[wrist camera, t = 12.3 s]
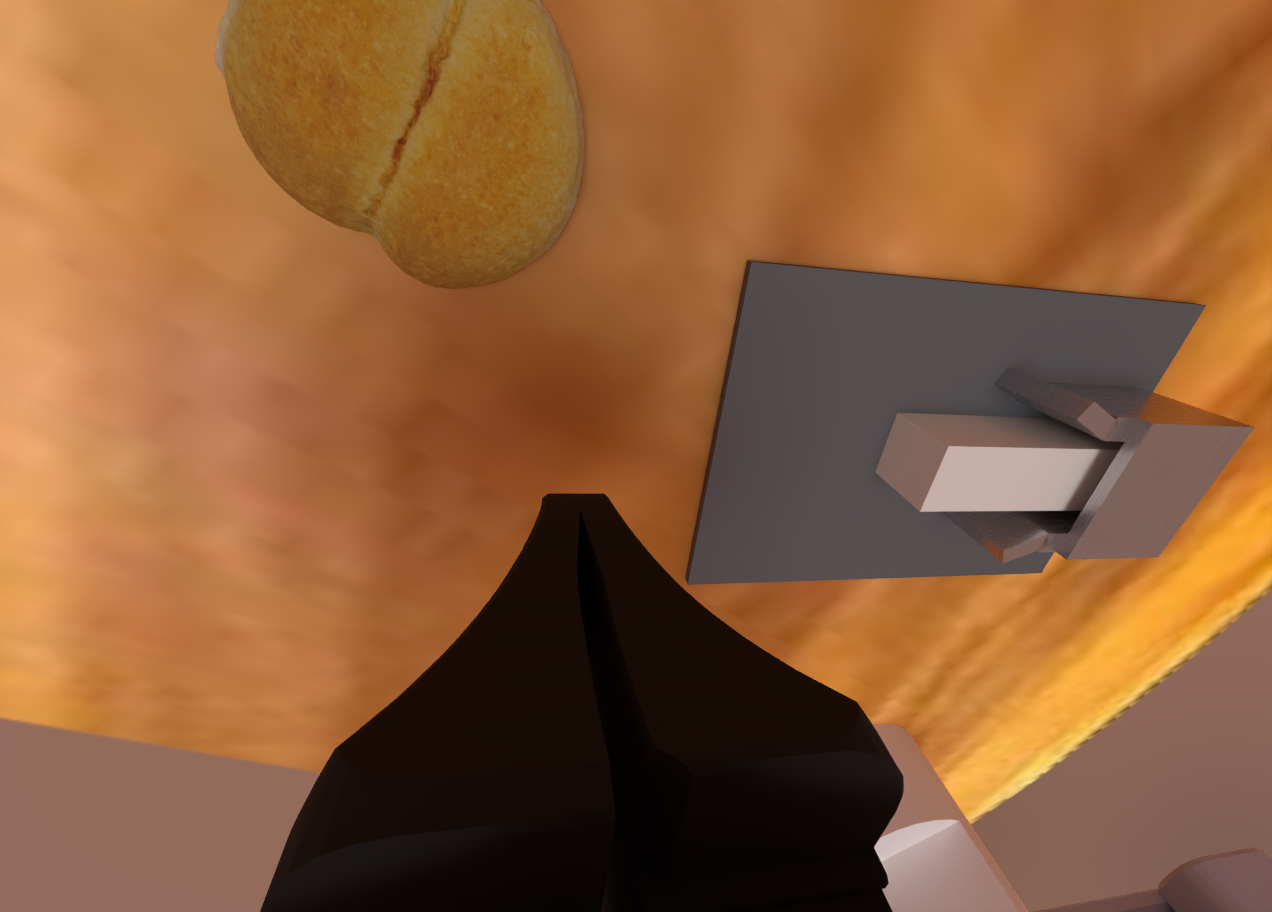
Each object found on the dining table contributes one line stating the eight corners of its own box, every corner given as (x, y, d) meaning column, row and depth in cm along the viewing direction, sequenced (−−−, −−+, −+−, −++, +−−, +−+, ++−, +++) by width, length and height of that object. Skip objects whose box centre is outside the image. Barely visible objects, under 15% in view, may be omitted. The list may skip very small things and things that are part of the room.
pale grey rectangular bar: (875, 472, 23) (920, 511, 20) (897, 412, 22) (948, 446, 19) (1069, 474, 25) (1134, 510, 22) (1101, 419, 24) (1174, 451, 21)
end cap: (1063, 511, 26) (1150, 566, 23) (935, 512, 25) (1005, 571, 21) (1145, 375, 23) (1264, 413, 19) (1001, 367, 22) (1100, 406, 18)
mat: (1034, 568, 29) (1041, 573, 29) (685, 579, 25) (687, 584, 25) (1195, 303, 22) (1206, 305, 22) (747, 260, 18) (751, 262, 18)
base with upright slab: (884, 705, 33) (1038, 942, 23) (930, 755, 38) (1078, 974, 27) (773, 771, 35) (869, 1019, 25) (828, 811, 39) (931, 1038, 29)
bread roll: (499, 322, 18) (488, 356, 15) (223, 137, 14) (120, 123, 11) (640, 107, 16) (667, 85, 12) (351, -180, 12) (272, -329, 9)
